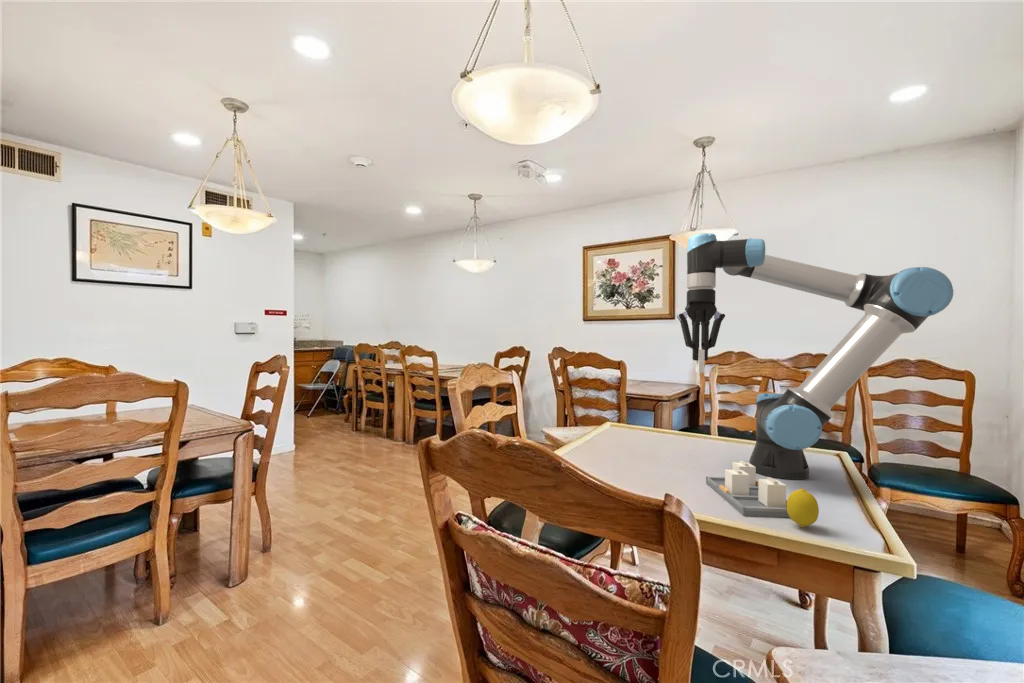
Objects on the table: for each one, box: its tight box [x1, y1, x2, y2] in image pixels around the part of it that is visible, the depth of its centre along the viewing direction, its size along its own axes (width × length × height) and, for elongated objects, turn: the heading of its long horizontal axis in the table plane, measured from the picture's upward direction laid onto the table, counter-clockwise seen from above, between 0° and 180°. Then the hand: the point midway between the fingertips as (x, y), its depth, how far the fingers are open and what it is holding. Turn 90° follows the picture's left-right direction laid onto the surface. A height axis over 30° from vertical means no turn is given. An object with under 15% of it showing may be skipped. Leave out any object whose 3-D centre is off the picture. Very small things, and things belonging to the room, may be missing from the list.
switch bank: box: [705, 476, 791, 519], centre depth 106 cm, size 11×22×2 cm, turn 176°
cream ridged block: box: [724, 467, 749, 496], centre depth 107 cm, size 4×4×6 cm
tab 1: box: [731, 460, 757, 486], centre depth 113 cm, size 4×4×6 cm
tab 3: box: [758, 476, 787, 508], centre depth 99 cm, size 4×4×6 cm
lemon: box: [786, 488, 820, 528], centre depth 90 cm, size 6×6×8 cm
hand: (699, 372), depth 125 cm, fingers closed
